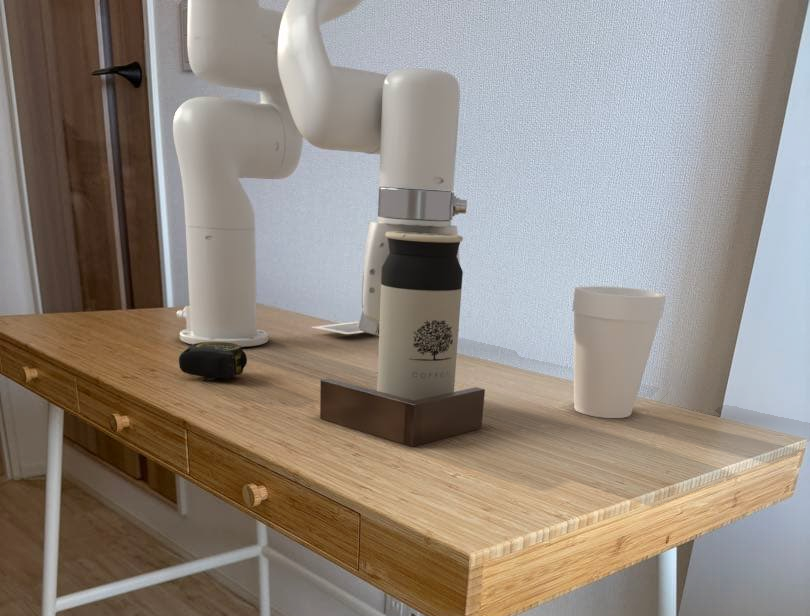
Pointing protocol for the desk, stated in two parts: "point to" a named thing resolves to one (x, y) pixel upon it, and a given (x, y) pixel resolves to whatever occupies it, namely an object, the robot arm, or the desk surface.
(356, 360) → the desk surface
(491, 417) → the desk surface
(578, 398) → the foam cup
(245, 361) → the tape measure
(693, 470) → the desk surface
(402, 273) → the travel mug
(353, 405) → the corner guard
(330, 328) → the touchpad
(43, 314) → the desk surface
